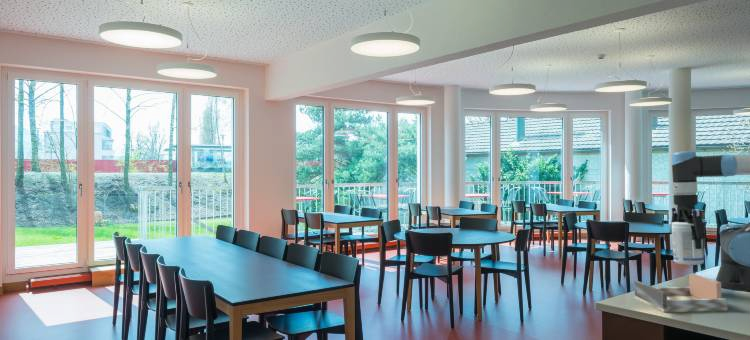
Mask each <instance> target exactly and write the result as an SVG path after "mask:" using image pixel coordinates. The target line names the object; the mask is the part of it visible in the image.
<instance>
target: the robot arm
mask: <svg viewBox="0 0 750 340" xmlns="http://www.w3.org/2000/svg"><path fill="white" fill-rule="evenodd" d="M671 169H672V170H671V171H672V173H671V174H672V183H673V184H672V189H673V193H674V195H673V204H674V205H675V206H677V207H672V208H671V213H672V214H671V222H670V231H669V232H670V234H672V227H671V226H672V222H687V223H688V224H694V226H692V225H691V232H692V236H693V238H692V254H693V258H702V255H701V240H702V239H703V240H704V239H707V238H706V237H707V236H706V233H705V228H704V227H705V226H704V224H703V222H704V221H703V218H702V210H701V209H696V207H695V206H697V205H698V204H699V200H698V199H699V196H698V194H697V193H698V190H699V189H698V178H711V177H713V178H716V177H717V178H718V177H719V178H720V177H725V178H726V177H734V176H750V154H722V155H720V154H719V155H718V154H717V155H704V156H703V155H702V156H701V155H697V152H696V151H695V150H694V151H693V150H690V151H688V150H687V151H686V150H685V151H675V152H673V153H672V155H671ZM718 233H719V237H720V238H719V241H720V242H719V243H720V266H719V269H718V272H717V276H716V277H715V281H718V282H721V288H723V289H727V290H734V291H743V292H745V291H746V292H747V291H748V292H750V221H749V222H748V223H746V224H740V223H739V224H733V223H732V224H721V225H720V227H719V232H718ZM701 234H702V235H701Z"/></svg>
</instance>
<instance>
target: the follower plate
mask: <svg viewBox="0 0 750 340" xmlns="http://www.w3.org/2000/svg"><path fill="white" fill-rule="evenodd" d="M688 275H689V276H688V277H689V278H688V280H689V281H688V284H689V286H688V287H690V295H693V296H695V297H698V298H700V299H714V298H723V296H722V294H723V293H722V287H721V282H718V281H716V280H715V279H711V278H708V277H705V276H701V275H698V274H696V273H695V274H694V273H689V274H688Z"/></svg>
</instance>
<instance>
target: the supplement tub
mask: <svg viewBox="0 0 750 340" xmlns="http://www.w3.org/2000/svg"><path fill="white" fill-rule="evenodd" d="M691 225H692V226H694V224H688V223H687V222H686V221H685V222H672V226H671V225H670V228H671V227H672V233H671V240H672V242H671V243H672V255H673V262H674V263H675V264H679V265H684V266H685V265H687V266H696V265H703V264H704V263H705V253H704V251H705V250H704V238H703V239H702V240H701V255H702V258H693V254H692V238H693V236H692V232H691ZM701 235H702V234H701Z"/></svg>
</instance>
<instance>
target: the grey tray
mask: <svg viewBox="0 0 750 340" xmlns="http://www.w3.org/2000/svg"><path fill="white" fill-rule="evenodd" d="M634 299H635V300H637V301H640V302H641V303H642V304H643V303H644V304H645V305H647V306H650V307H652V308H654V309H657V310H658V311H660V312H662V313H682V312H683V313H685V312H689V311H691V312H718V311H719V312H722V311H725V312H726V311H728V298H723V297H722V298H714V299H700V298H698V297H695V296H693V295H690V286H673V287H672V286H671V287H653V286H651V285H648V284H646V283H643V282H642V281H639V280H635V281H634ZM689 313H690V312H689Z"/></svg>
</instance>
